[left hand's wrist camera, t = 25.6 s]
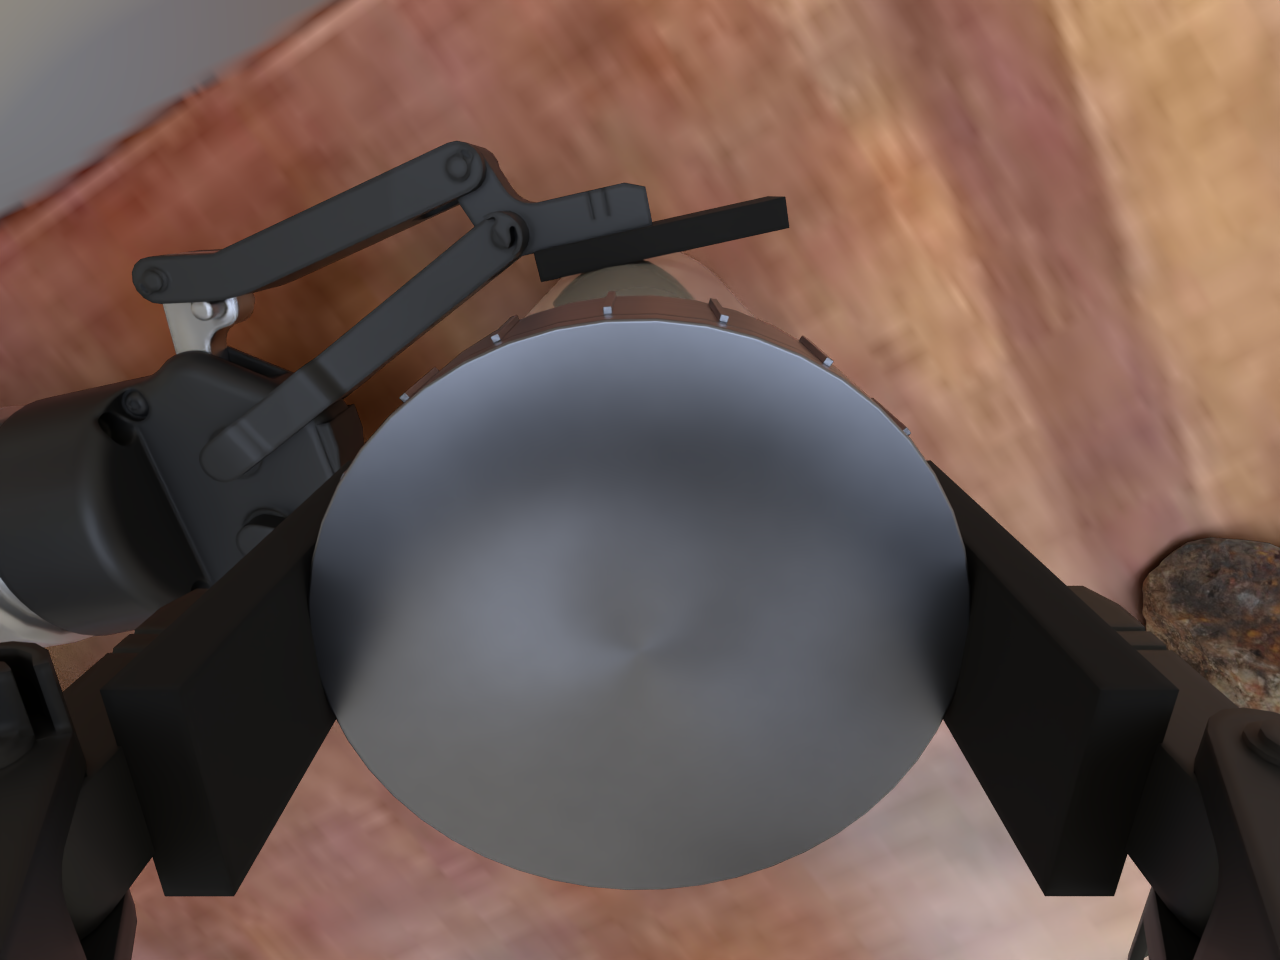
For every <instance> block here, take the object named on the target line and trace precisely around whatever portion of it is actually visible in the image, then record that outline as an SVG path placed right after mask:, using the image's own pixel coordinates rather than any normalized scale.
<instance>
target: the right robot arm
mask: <svg viewBox="0 0 1280 960" xmlns="http://www.w3.org/2000/svg"><path fill="white" fill-rule="evenodd" d="M458 205H461V207H462V208H463V210H464V211H465V213H466V214H467V216H468V217H469V219H470V220H471V222H472V223H473V225H474V226H475V227H474V228H473V229H472V230H470V231H469V232H468V233H467V234H465V235H464V236H463V237H462V238H461V239H459V240H458V241H457V242H456V243H454V244H453V245H452V246H451V247H450V248H448V249H447V250H446V251H445V252H444V253H442V254H441V255H440V256H439V257H437V258H436V259H435V260H434V261H433V262H431V263H430V264H429V265H428V266H427V267H425V268H424V269H423V270H422V271H420V272H419V273H418V274H417V275H416V276H414V277H413V278H412V279H411V280H410V281H408V282H407V283H406V284H405V285H403V286H402V287H401V288H400V289H399V290H397V291H396V292H395V293H394V294H393V295H391V296H390V297H389V298H388V299H386V300H385V301H384V302H383V303H382V304H380V305H379V306H378V307H377V308H376V309H374V310H373V311H372V312H371V313H369V314H368V315H367V316H366V317H365V318H363V319H362V320H361V321H360V322H358V323H357V324H356V325H355V326H354V327H352V328H351V329H350V330H349V331H348V332H346V333H345V334H344V335H343V336H341V337H340V338H339V339H338V340H337V341H335V342H334V343H333V344H332V345H331V346H329V347H328V348H327V349H326V350H324V351H323V352H322V353H321V354H320V355H318V356H317V357H316V358H314V359H313V360H312V361H310V362H309V363H307V364H306V365H304V366H303V367H301V368H300V369H299V370H297V371H296V372H295V373H293V372H291V371H288V370H286V369H283V368H281V367H278V366H276V365H273V364H271V363H269V362H266V361H264V360H261V359H259V358H256V357H254V356H251V355H249V354H247V353H244V352H242V351H239V350H237V349H234V348H232V347H229V346H227V342H226V337H227V333H228V331H229V329H230V328H231V327H232V326H233V325H235V324H237V323H240V322H243V321H246V320H247V319H248V318H249V317H250V316H251V314H252V313H253V309H254V303H255V297H254V295H253V293H254V292H258V291H262V290H266V289H270V288H273V287H277V286H281V285H284V284H286V283H289V282H291V281H294V280H296V279H298V278H301V277H303V276H305V275H307V274H309V273H312V272H314V271H316V270H318V269H320V268H322V267H325V266H327V265H329V264H331V263H333V262H335V261H338V260H340V259H342V258H344V257H346V256H349V255H351V254H353V253H355V252H357V251H359V250H362V249H364V248H366V247H368V246H370V245H373V244H375V243H377V242H379V241H381V240H383V239H386V238H388V237H390V236H392V235H394V234H397V233H399V232H401V231H403V230H405V229H407V228H410V227H412V226H414V225H416V224H418V223H421V222H423V221H425V220H427V219H429V218H431V217H434V216H436V215H438V214H440V213H442V212H445V211H447V210H449V209H451V208H453V207H455V206H458ZM786 228H789V222H788V214H787V206H786V199H785V197H772V196H767V197H763V198H758V199H754V200H749V201H745V202H740V203H736V204H731V205H727V206H722V207H718V208H713V209H709V210H704V211H700V212H696V213H691V214H687V215H682V216H678V217H673V218H669V219H664V220H660V221H655V222H652V219H651V214H650V209H649V204H648V198H647V193H646V188H645V187H644V186H639V185H634V184H628V183H621V184H617V185H613V186H608V187H604V188H599V189H595V190H591V191H586V192H582V193H577V194H573V195H569V196H564V197H560V198H555V199H551V200H547V201H542V202H538V203H536V202H530V201H527V200H525V199H523V198H522V197H520V196H519V195H518V194H517V193H516V192H515V191H514V189H513V188H512V187H511V185H510V183H509V182H508V180H507V179H506V177H505V176H504V174H503V172H502V171H501V169H500V168H499V164H498V161H497V159H496V158H495V156H494V155H493V153H491V152H490V151H488V150H487V149H485V148H482V147H479V146H475V145H472V144H469V143H465V142H460V141H454V142H449V143H446V144H444V145H442V146H440V147H438V148H436V149H434V150H431V151H429V152H427V153H425V154H423V155H421V156H419V157H417V158H415V159H412V160H410V161H408V162H406V163H404V164H402V165H400V166H398V167H396V168H393V169H391V170H389V171H387V172H385V173H383V174H381V175H379V176H376V177H374V178H372V179H370V180H368V181H366V182H364V183H362V184H360V185H357V186H355V187H353V188H351V189H349V190H347V191H345V192H343V193H341V194H338V195H336V196H334V197H332V198H330V199H328V200H326V201H324V202H321V203H319V204H317V205H315V206H313V207H311V208H309V209H307V210H305V211H302V212H300V213H298V214H296V215H294V216H292V217H290V218H288V219H286V220H283V221H281V222H279V223H277V224H275V225H273V226H271V227H269V228H266V229H264V230H262V231H260V232H258V233H256V234H254V235H252V236H250V237H247V238H245V239H243V240H241V241H239V242H237V243H235V244H233V245H231V246H228V247H226V248H224V249H217V250H199V251H191V252H183V253H175V254H168V255H160V256H152V257H147V258H143V259H140V260H139V261H138V262H137V263H136V264H135V265H134V268H133V271H132V279H133V283H134V285H135V288H136V290H137V291H138V292H139V293H140V294H141V295H142V296H143V297H144V298H145V299H147V300H149V301H151V302H152V303H158V304H163V307H164V310H165V314H166V318H167V321H168V325H169V329H170V333H171V336H172V340H173V344H174V347H175V351H176V355H174V356H173V357H171V358H170V359H168V360H167V361H166V362H165V363H164V364H163V366H162V367H161V368H160V369H159V370H158V371H157V372H156V373H154V374H153V375H150V376H146V377H141V378H137V379H132V380H128V381H123V382H118V383H114V384H109V385H105V386H100V387H95V388H91V389H86V390H82V391H77V392H73V393H68V394H63V395H59V396H54V397H50V398H45V399H42V400H38V401H35V402H32V403H30V404H28V405H26V406H20V405H12V406H8V407H3V408H0V643H1V642H9V641H18V642H31V643H36V644H38V645H40V646H42V647H43V648H44V647H50V646H56V645H62V644H68V643H74V642H77V641H80V640H83V639H87V638H90V637H93V636H100V635H110V634H116V633H121V632H126V631H131V630H135V629H136V628H137V627H138V626H140V625H141V624H142V623H143V622H144V621H145V620H147V619H148V618H149V617H150V616H151V615H152V614H153V613H155V612H156V611H157V610H158V609H159V608H160V607H162V606H164V605H166V604H168V603H170V602H172V601H174V600H176V599H178V598H180V597H182V596H183V595H185V594H187V593H189V592H191V591H193V590H195V589H210V588H211V587H212V586H213V585H214V584H215V583H216V582H217V581H218V580H219V579H220V578H222V577H223V576H224V575H225V574H226V573H227V572H228V571H229V570H230V569H231V568H232V567H233V566H235V565H236V564H237V563H238V562H239V561H240V560H241V559H242V558H243V557H244V556H245V555H247V554H248V553H249V552H250V551H251V550H252V549H253V548H254V547H255V546H256V545H257V544H258V543H260V542H261V541H262V540H263V539H264V538H265V537H266V536H267V535H268V534H269V533H270V532H271V531H273V530H274V529H275V528H276V527H277V526H278V525H279V524H280V523H281V522H282V521H283V520H285V519H286V518H287V517H288V516H289V515H290V514H291V513H292V512H293V511H294V510H295V509H296V508H298V507H299V506H300V505H301V504H302V503H303V502H304V501H305V500H306V499H307V498H308V497H310V496H311V495H312V494H313V493H314V492H315V491H316V490H317V489H318V488H319V487H320V486H321V485H323V484H324V483H325V482H326V481H327V480H328V479H329V478H330V477H331V476H332V475H333V474H335V473H336V472H337V471H338V470H339V469H340V468H341V467H342V466H343V465H344V464H345V463H346V462H348V461H353V460H354V458H355V457H356V455H357V453H358V452H359V450H360V449H361V448H362V446H363V445H364V439H363V427H362V424H361V421H360V419H359V416H358V413H357V410H356V408H355V405H354V404H352V405H347V404H346V403H345V402H344V401H343V399H344V398H346V397H347V396H348V395H349V394H351V393H352V392H353V391H354V390H356V389H357V388H358V387H359V386H361V385H362V384H363V383H364V382H366V381H367V380H368V379H369V378H371V377H372V376H373V375H374V374H375V373H376V372H377V371H379V370H380V369H381V368H382V367H384V366H385V365H386V364H387V363H389V362H390V361H391V360H392V359H394V358H395V357H396V356H397V355H399V354H400V353H401V352H402V351H404V350H405V349H406V348H407V347H409V346H410V345H411V344H413V343H414V342H415V341H416V340H418V339H419V338H420V337H421V336H423V335H424V334H425V333H426V332H428V331H429V330H430V329H431V328H433V327H434V326H435V325H436V324H438V323H439V322H440V321H441V320H443V319H444V318H445V317H446V316H448V315H449V314H450V313H451V312H453V311H454V310H455V309H456V308H458V307H459V306H460V305H461V304H463V303H464V302H465V301H466V300H468V299H469V298H470V297H471V296H473V295H474V294H475V293H476V292H478V291H479V290H480V289H481V288H483V287H484V286H485V285H487V284H488V283H489V282H490V281H492V280H493V279H494V278H495V277H497V276H498V275H499V274H500V273H502V272H503V271H504V270H505V269H507V268H508V267H509V266H510V265H512V264H513V263H514V262H515V261H517V260H518V259H519V258H520V257H522V256H524V255H528V254H533V253H534V256H535V260H536V264H537V268H538V272H539V276H540V280H541V282H544V281H548V280H553V279H558V278H562V277H567V276H571V275H576V274H580V273H585V272H589V271H594V270H599V269H603V268H607V267H612V266H617V265H621V264H626V263H631V262H635V261H640V260H644V259H649V258H653V257H658V256H663V255H667V254H672V253H676V252H681V251H685V250H690V249H695V248H699V247H704V246H708V245H713V244H717V243H722V242H727V241H731V240H736V239H740V238H745V237H749V236H754V235H759V234H763V233H768V232H772V231H777V230H781V229H786Z"/></svg>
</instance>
